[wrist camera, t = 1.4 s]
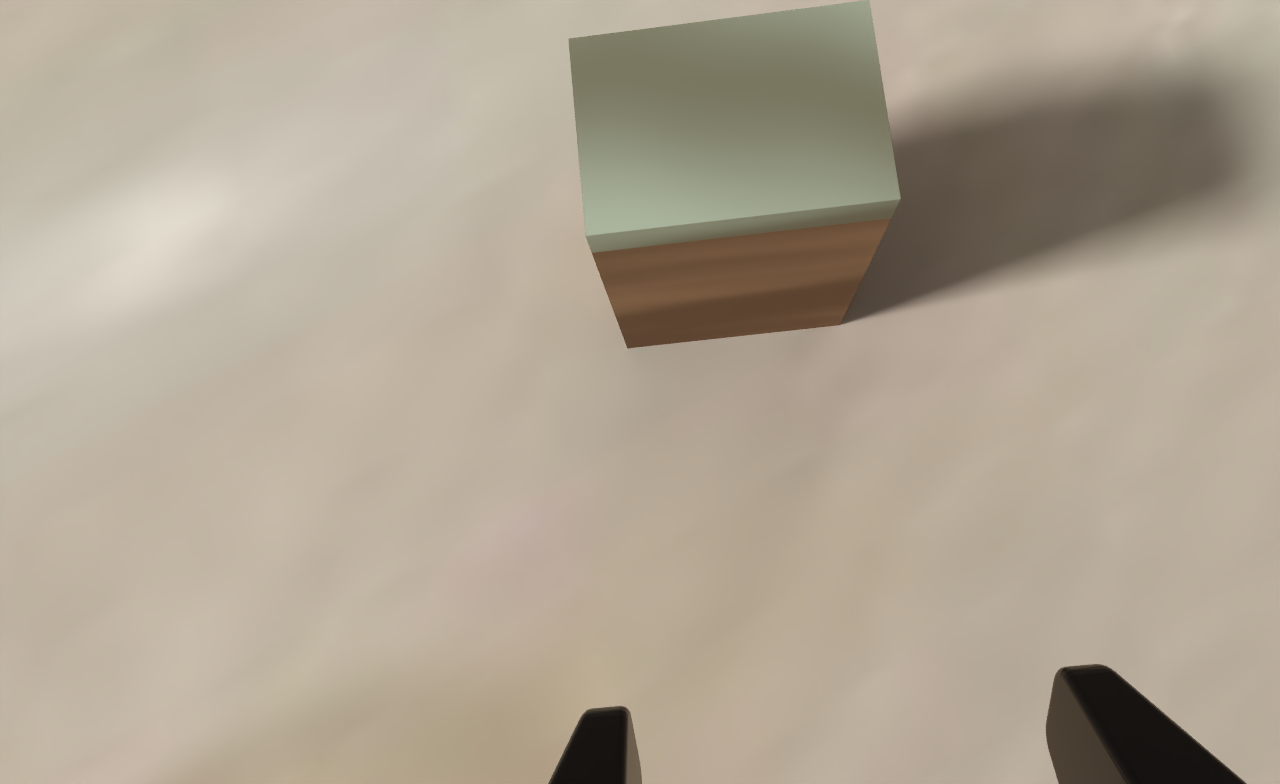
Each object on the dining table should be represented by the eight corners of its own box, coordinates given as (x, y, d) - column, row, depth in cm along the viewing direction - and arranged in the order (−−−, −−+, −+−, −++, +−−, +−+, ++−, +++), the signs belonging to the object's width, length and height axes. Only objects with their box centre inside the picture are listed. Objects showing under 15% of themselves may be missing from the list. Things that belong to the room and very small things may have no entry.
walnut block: (840, 324, 22) (900, 199, 15) (627, 348, 23) (585, 235, 15) (820, 185, 23) (869, -1, 16) (614, 209, 23) (568, 38, 16)
